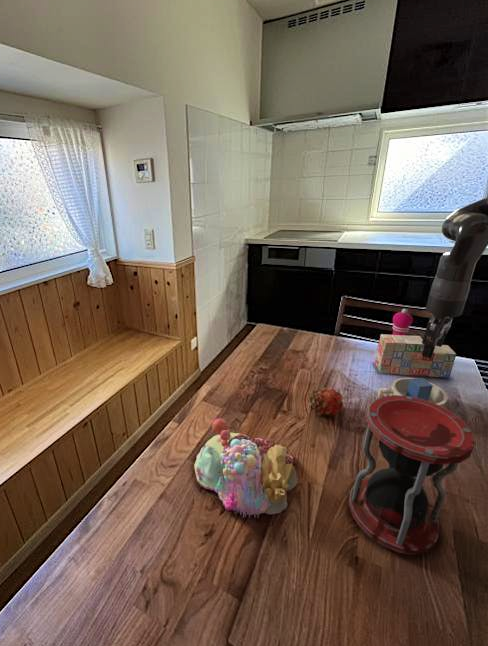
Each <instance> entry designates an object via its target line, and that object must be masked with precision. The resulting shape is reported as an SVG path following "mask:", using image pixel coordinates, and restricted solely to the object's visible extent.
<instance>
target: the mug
mask: <svg viewBox="0 0 488 646" xmlns="http://www.w3.org/2000/svg"><path fill="white" fill-rule="evenodd" d="M416 378H417V377H409V376H408V377H407V376H405V377H399V378H397V379H394V381H393V382H392V384H391V387H390V388H386V387H385V388H384V387H381V388H380V387H379V388H378V392H377V397H376V399H379V398H381V397H384V394H388V396H392V395H400V396H406V393H407V389H408V385H409V382H410V379H416ZM428 382H429V383H430V384H432V385H433V387H432V390H431V394H430V397H429V400H428V401H429V402H432V403H434V404H437V405H439V406H441V407H443V408H445V409H446V406H447V404H448V400H449V399H448V398H449V397H448V394H447V393H446V391H445V390H444V389H442V388H441V387H440V386H438V385H437V384H434V383H432V382H430V381H428Z"/></svg>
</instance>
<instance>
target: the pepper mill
mask: <svg viewBox="0 0 488 646" xmlns="http://www.w3.org/2000/svg"><path fill="white" fill-rule="evenodd" d="M408 311H409V310H408V309H407V308H403V309H401V311H399V312H396V313H395V314H394V315H393V317H392V323H393V324H392V329H393V330H392V334H391V335H407V333H408V332H409V331H410V326H411V325H412V324H413V322H414V317H413V316H412V315H411V314H410V313H409V312H408Z"/></svg>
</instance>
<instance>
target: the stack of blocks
mask: <svg viewBox="0 0 488 646" xmlns="http://www.w3.org/2000/svg"><path fill="white" fill-rule="evenodd" d="M422 340H423V338H422V336H420V335H408V334H406V335H392V334H383V333H381V334H380V335H379V340H378V345H377V351H376V356H375V360H374V365H375V367H376V368H377V371H378V373H380V374H389V375H402V376H420V377H431V378H432V377H434V378H443V379H444V378H445V379H449V378H450V377H451V373H452V372H453V371H452V370H453V369H454V368H453V367H454V364H455V362H456V361H455V360H456V356H457V353H456V352H455V351H454V350H453V349H452V348H451V347H450V346H449V344H448V345H447V344H443V345H442V346H441V347H439V346H435V349H434V353H433V356H432V357H431V358H427V357H424V356H422V352H423V348H424V345H425V344H422Z"/></svg>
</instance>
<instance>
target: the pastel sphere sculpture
mask: <svg viewBox="0 0 488 646" xmlns="http://www.w3.org/2000/svg"><path fill="white" fill-rule="evenodd" d="M228 428H229V427H228V423H227V421H226V420H225V419H223V418H215V420H213V421H212V423H211V430H212V431H213V433H214V434H216V435H213V436H212V437H211V438H210V439H208V440H207V441H206V442H205V444H204V445H203V446H202V447H201V448H200V451H199V452H198V453H197V455H196V456H195V457H196V460H195V463H194V464H193V466H194V472H195V477H196V482H197V484H199V486H200V487H202V488H204V489H206V490H210V491H214V492H215V493H216V494H217V495H218V498H219V501H221V502H222V505H223V507H224V508H225V510H226V511H234V514H235V515H236V513H237V514H238V513H239V515H242V518H243V519H244V518H245V517H247V515H248V519H250V518H251V516H253V515H254V518H256V516H257V519H259V517H260V516H259V515H261V514H267V515H275V514H280V513H282V512H283V511H284V510H286V509H287V507H288V505H289V504H288V502H287V498H288V495H287V492H288V491H291V490H292V489H293V488H295V487H296V486H297V483H298V482H299V479H298V477H297V470H296V468H295V466H294V465H293V464H294V457H293V456H292V455H290V454H288V448H287V447H284V446H283V445H281V444H277V443H276V442H275V441H272V439H270V438H266V439H263V438H260V437H256V438H250V437H249V436H248V435H246V434H245V433H244V434H243V433H239V432H237V433H236V432H230V431H229V430H228Z"/></svg>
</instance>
